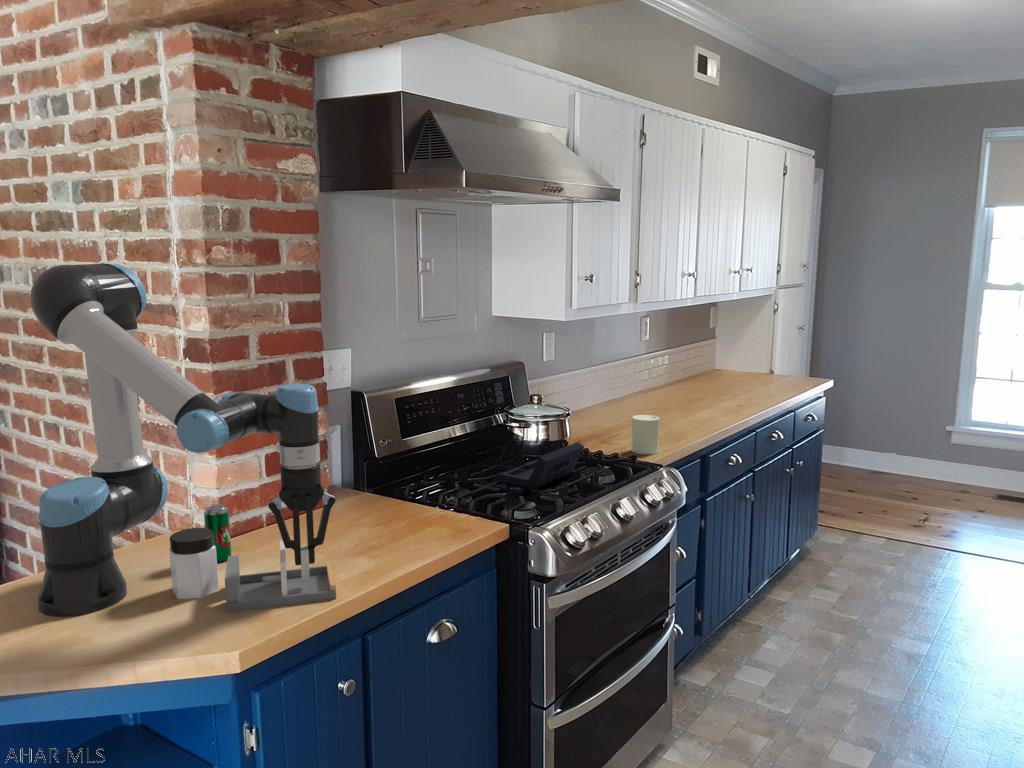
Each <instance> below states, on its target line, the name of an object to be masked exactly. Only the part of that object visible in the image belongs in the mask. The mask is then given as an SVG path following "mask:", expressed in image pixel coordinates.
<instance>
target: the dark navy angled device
mask: <svg viewBox="0 0 1024 768" xmlns="http://www.w3.org/2000/svg"><path fill="white" fill-rule="evenodd" d="M584 448H585V446H584V445H583V444H581V443H580V442H574V443H572V444H569V445H567V446H564V447H561V448H557V449H554V450H553V451H551V452H549V453H546V454H543V455H540V456H539V457H538V458H537V459H536V460H533V461H531V462H528V463H525V464H523V465H521V466H517V467H515V468H512V469H509V470H507V471H504V472H502V473H500V474H499V483H503V484H509V485H513V486H518V487H524V488H529V487H530V488H532V489H533V490H534V489H535V490H536V489H537V488H540V487H541V486H544V485H546V484H548V483H551V482H554V481H556V480H559V479H560V478H563V477H565V476H568V475H570V474H572V473H573V472H574V470H575V469H576V466H577V463H578V462H579V459H580V457H581V455H582V453H583V450H584Z"/></svg>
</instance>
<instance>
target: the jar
mask: <svg viewBox="0 0 1024 768" xmlns="http://www.w3.org/2000/svg"><path fill="white" fill-rule="evenodd" d="M168 550H169V562H170V563H169V565H170V575H171V588H172V593H173V594H174V595H175V597H176V598H177V600H183V599H184V600H185V599H186V600H187V599H202V598H204V597H206V596H208V595H210V594H212V593H214V592H216V591H218V590H219V589H220V588H219V586H220V585H219V575H218V574H219V573H218V571H219V570H218V563H217V556H216V546H215V545H214V534H213V531H212V530H210V529H207V528H205V527H193V528H185V529H181V530H178V531H177V532H173V533H172V534H171V535H170V536H169V549H168Z"/></svg>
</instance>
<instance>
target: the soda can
mask: <svg viewBox="0 0 1024 768" xmlns="http://www.w3.org/2000/svg"><path fill="white" fill-rule="evenodd" d="M204 509H205V510H204V512H203V516H204V517H203V518H204V519H203V520H204V521H203V522H204V528H207V529H210V530H212V531H213V534H214V545H215V546H216V556H217V564H220V562H221V563H224V561H225V562H227V561H228V556H233V555H232V542H231V541H232V540H231V527H230V513H229V509H228V508H227V504H223V503H215V504H210V505H208V506H206V507H205V508H204Z"/></svg>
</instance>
